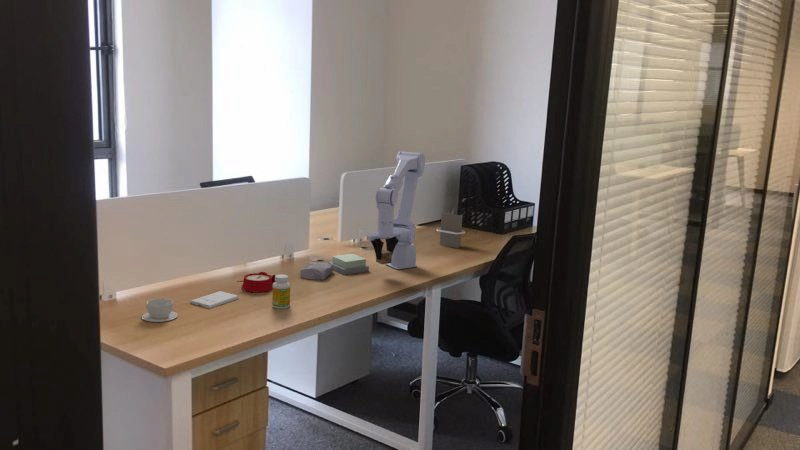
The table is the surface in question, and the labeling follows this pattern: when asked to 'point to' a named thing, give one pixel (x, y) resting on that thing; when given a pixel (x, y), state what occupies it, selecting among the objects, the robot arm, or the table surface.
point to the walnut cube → (385, 257)
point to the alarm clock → (258, 282)
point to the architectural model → (451, 230)
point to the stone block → (316, 271)
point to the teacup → (159, 310)
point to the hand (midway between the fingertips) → (383, 258)
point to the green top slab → (349, 261)
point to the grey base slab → (349, 269)
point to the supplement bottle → (281, 292)
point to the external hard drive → (214, 299)
